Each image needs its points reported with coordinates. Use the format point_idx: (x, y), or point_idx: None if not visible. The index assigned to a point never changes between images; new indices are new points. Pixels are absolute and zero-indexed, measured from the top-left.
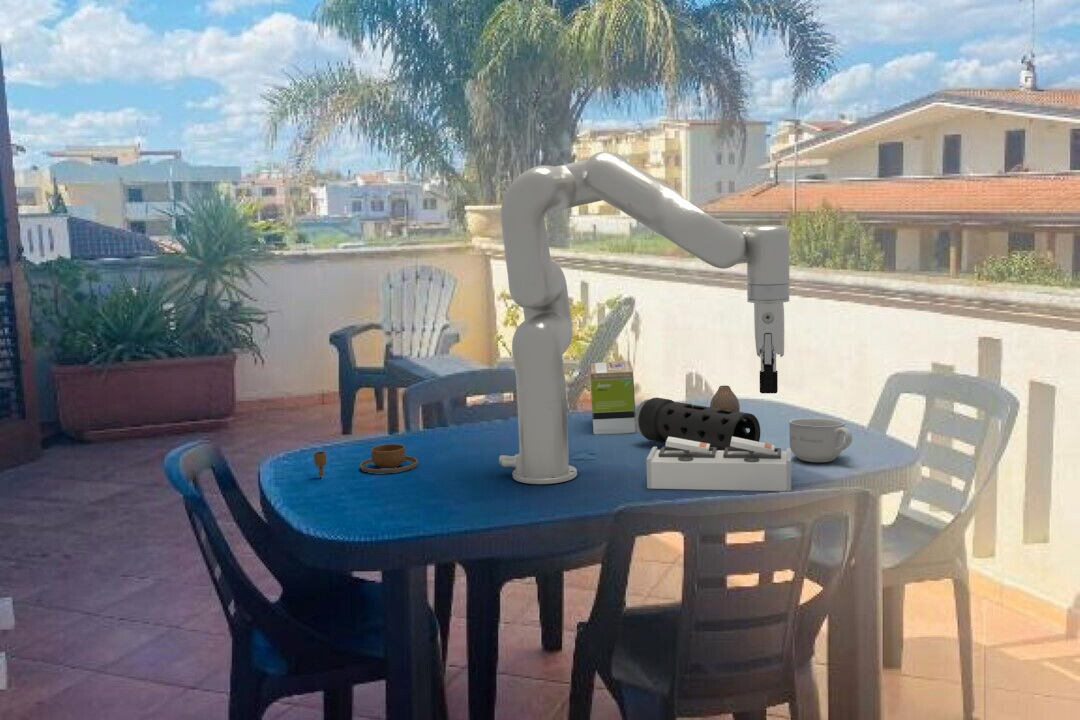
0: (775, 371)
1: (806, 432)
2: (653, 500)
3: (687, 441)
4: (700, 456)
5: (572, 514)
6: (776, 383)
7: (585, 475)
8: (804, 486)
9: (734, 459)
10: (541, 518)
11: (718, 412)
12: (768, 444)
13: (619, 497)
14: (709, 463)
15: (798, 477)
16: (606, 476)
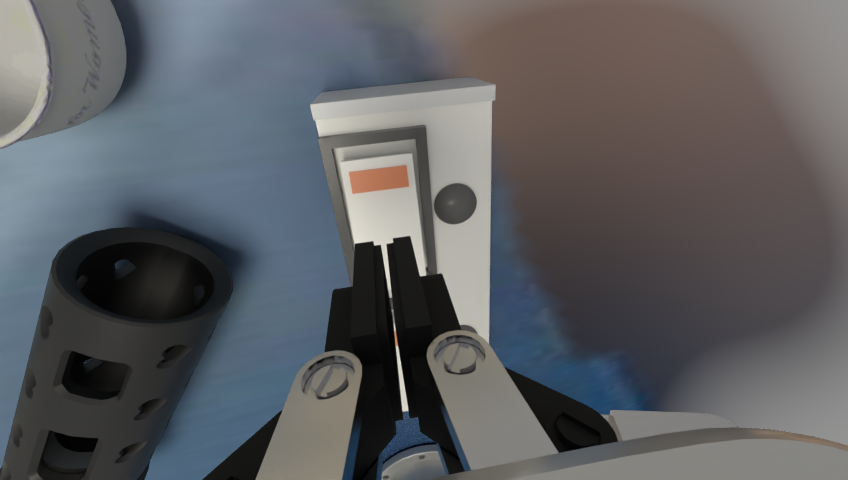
0: (477, 338)
1: (70, 58)
2: (546, 321)
3: (399, 371)
4: None
5: (612, 386)
6: (418, 270)
7: (404, 439)
8: (413, 42)
9: (448, 246)
10: (625, 407)
11: (99, 396)
12: (359, 181)
13: (528, 366)
14: (489, 288)
15: (316, 69)
16: (404, 416)
